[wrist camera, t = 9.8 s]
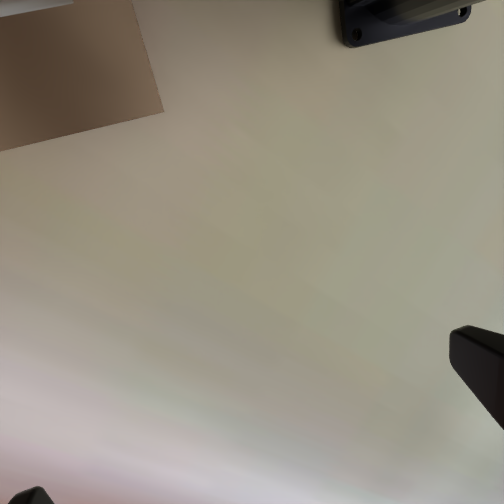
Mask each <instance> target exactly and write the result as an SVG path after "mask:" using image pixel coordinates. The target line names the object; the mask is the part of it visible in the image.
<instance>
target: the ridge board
mask: <svg viewBox="0 0 504 504" xmlns="http://www.w3.org/2000/svg"><path fill="white" fill-rule="evenodd" d="M162 112H164V110H163V106H162V103H161V99H160V96H159V93H158V89H157V86H156V83H155V79H154V76H153V72H152V69H151V66H150V62H149V59H148V56H147V52H146V49H145V46H144V42H143V39H142V35H141V32H140V29H139V25H138V22H137V19H136V15H135V12H134V9H133V5H132V2H131V0H0V151H4V150H8V149H12V148H16V147H20V146H24V145H29V144H33V143H37V142H41V141H45V140H49V139H54V138H58V137H62V136H66V135H70V134H74V133H79V132H83V131H87V130H91V129H95V128H99V127H104V126H108V125H112V124H116V123H120V122H124V121H129V120H133V119H137V118H141V117H145V116H149V115H154V114H158V113H162Z"/></svg>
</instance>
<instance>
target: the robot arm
mask: <svg viewBox="0 0 504 504" xmlns="http://www.w3.org/2000/svg"><path fill="white" fill-rule="evenodd" d="M482 1H485V0H339V5H340V16H341V26H342V37H343V42H344V44H345V45H346V46H347V47H349V48H357V47H361V46H365V45H370V44H374V43H378V42H382V41H387V40H391V39H395V38H400V37H404V36H408V35H413V34H417V33H421V32H426V31H430V30H434V29H439V28H443V27H447V26H451V25H456V24H459V23H462V22H465V21H466V20H467V19H468V18H469V15H470V13H471V5H473V4H476V3H479V2H482ZM458 9H460V15H458ZM353 30H355V31H356V32H357V34H358V36H357V39H356V41H355V40H354V39H353V38H352V32H353ZM449 359H450V363H451V365H452V367H453V368H454V370H455V371H456V372H457V374H458V375H459V376H460V377H461V379H462V380H463V381H464V382H465V383H466V385H467V386H468V387H469V388H470V390H471V391H472V392H473V393H474V395H475V396H476V397H477V398H478V400H479V401H480V402H481V403H482V405H483V406H484V407H485V408H486V409H487V411H488V412H489V413H490V414H491V416H492V417H493V418H494V419H495V420H496V422H497V423H498V424H499V425H500V426H501V427H502V429H503V430H504V335H503V334H499V333H496V332H492V331H489V330H485V329H481V328H478V327H474V326H470V325H466V326H463V327H460V328H457V329H455V330H453V331H451V333H450V340H449ZM8 504H54V502H53V501H52V500H51V498H50V497H49V495H48V494H47V493H46V491H45V490H44V489H43V488H42V487H40V486H35V487H33V488H30V489H27V490H25V491H22V492H20V493H18V494H16V495H15V496H14V497H13V498H12V499H11V500H10V502H9V503H8Z"/></svg>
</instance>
